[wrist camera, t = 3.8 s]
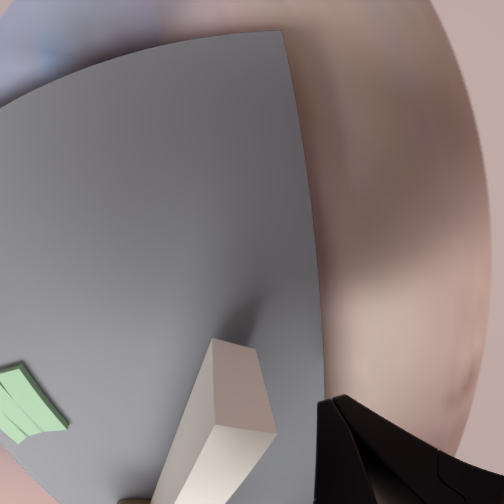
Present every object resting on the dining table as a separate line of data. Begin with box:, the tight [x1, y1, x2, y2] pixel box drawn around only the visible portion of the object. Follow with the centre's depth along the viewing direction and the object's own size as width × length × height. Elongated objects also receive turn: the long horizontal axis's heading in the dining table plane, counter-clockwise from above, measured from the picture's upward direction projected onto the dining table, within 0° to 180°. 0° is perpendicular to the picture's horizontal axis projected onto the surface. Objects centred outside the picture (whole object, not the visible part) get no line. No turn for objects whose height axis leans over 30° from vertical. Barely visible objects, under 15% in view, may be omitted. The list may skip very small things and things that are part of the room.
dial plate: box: [0, 31, 325, 504], centre depth 9 cm, size 22×16×2 cm
